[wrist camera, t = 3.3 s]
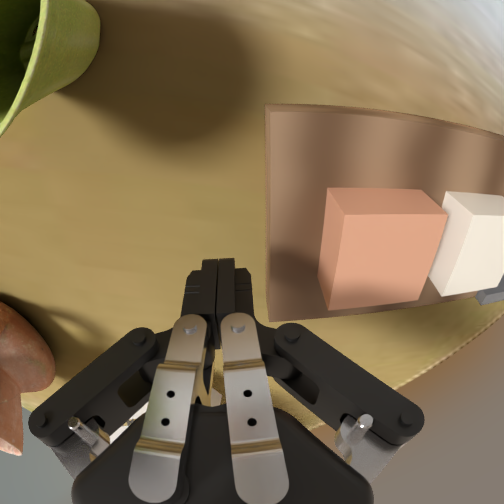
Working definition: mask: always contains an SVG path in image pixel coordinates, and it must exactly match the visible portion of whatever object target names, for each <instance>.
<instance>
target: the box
mask: <svg viewBox="0 0 504 504" xmlns="http://www.w3.org/2000/svg"><path fill="white" fill-rule="evenodd" d="M475 297H476V299H477V300H478V302H479V303H480V305H484V304H489V303H493V302H497V301H501V300H504V274H503V276H502V278H501V280H500V282H499V284H498V286H497V287H494V288H488V289H483V290H478V292H477V294H476V296H475Z"/></svg>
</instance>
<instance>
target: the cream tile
mask: <svg viewBox="0 0 504 504" xmlns="http://www.w3.org/2000/svg"><path fill="white" fill-rule="evenodd" d="M442 209H443V210H444V211H445V212H446V213H447V214H448V217H447V221H446V224H445V227H444V231H443V234H442V237H441V240H440V243H439V246H438V249H437V252H436V255H435V257H434V260H433V263H432V266H431V268H430V271H429V274H428V277H429V278H430V280H431V281H432V283H433V284H434V286H435V287H436V289H437V290H438V292H439V293H440V295H441V296H449V295H455V294H461V293H467V292H472V291H478V290H483V289H488V288H494V287H497V286H498V284H499V282H500V280H501V278H502V276H503V274H504V197H503V196H499V195H489V194H477V193H465V192H451V191H446V193H445V197H444V200H443V204H442Z"/></svg>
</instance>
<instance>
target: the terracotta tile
mask: <svg viewBox="0 0 504 504" xmlns="http://www.w3.org/2000/svg"><path fill="white" fill-rule="evenodd" d="M447 217H448V214H447V213H446V212H445V211H444V210H443V209H442V208H441V207H440V206H439V205H438V204H437V203H435V202H434V201H433V200H432V199H431V198H430V197H429V196H428V195H427V194H426V193H424V192H423V191H422V190H416V189H389V188H327V197H326V207H325V217H324V226H323V235H322V244H321V252H320V259H319V267H318V274H317V277H318V280H319V283H320V286H321V289H322V293H323V296H324V299H325V302H326V305H327V309H328V310H339V309H349V308H359V307H368V306H376V305H385V304H393V303H401V302H408V301H415V300H418V299H419V296H420V294H421V291H422V289H423V286H424V284H425V281H426V279H427V276H428V274H429V271H430V268H431V266H432V263H433V260H434V257H435V255H436V252H437V249H438V246H439V243H440V240H441V237H442V234H443V231H444V227H445V224H446V221H447Z"/></svg>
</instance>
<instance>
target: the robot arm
mask: <svg viewBox="0 0 504 504" xmlns="http://www.w3.org/2000/svg"><path fill="white" fill-rule="evenodd" d="M221 346H222V351H223V362H224V365H223V372H224V383H225V394H226V404H222V405H218V406H214V407H211V391H212V383H213V374H214V366H215V362H214V358H215V349H221ZM267 376H271V377H273V378H274V380H275V381H276V382H277V383H278V384H279V385H280V386H282V387H283V388H284V389H285V390H286V391H287V392H289V393H290V394H291V395H292V396H293V397H294V398H296V399H297V400H298V401H299V402H300V403H302V404H303V405H304V406H305V407H307V408H308V409H309V410H310V411H311V412H313V413H314V414H315V415H316V416H318V417H319V418H320V419H321V420H323V421H324V422H325V423H326V424H328V425H329V426H330V427H332V428H333V429H334V430H335V431H337V432H336V434H335V439H334V441H335V445H336V447H337V448H338V449H339V451H340V452H341V453H342V454H343V456H344V458H345V461H344V460H343V459H342V458H340V457H339V456H338V455H337V454H335V453H334V452H333V451H332V450H331V449H330V448H328V447H327V446H326V445H325V444H324V443H323V442H321V441H320V440H319V439H318V438H317V437H315V436H314V435H313V434H312V433H311V432H310V431H309V430H308V429H307V428H305V427H304V426H303V425H302V424H301V423H300V422H299V421H298V420H297V419H295V418H294V417H293V416H292V415H290V414H289V413H287V412H285V411H283V410H281V409H278V408H276V407H273V405H272V400H271V395H270V390H269V384H268V379H267ZM148 401H149V402H148ZM147 402H148V406H147V410H146V412H145V413H143V414H142V415H140V416H139V417H138V418H137V419H136V420H135V421H134V422H133V423H132V424H131V425H130V426H129V427H127V428H126V429H125V430H124V431H123V432H122V433H121V434H120V435H119V436H118V437H117V438H116V439H115V440H114V441H113V442H112V443H111V444H110V436H111V435H112V434H113V433H114V432H115V431H117V430H118V429H119V428H120V427H121V426H122V425H123V424H124V423H125V422H127V421H128V420H129V419H130V418H131V417H132V416H133V415H134V414H135V413H136V412H138V411H139V410H140V409H141V408H142V407H143V406H144V405H145V404H146V403H147ZM28 425H29V429H30V431H31V433H32V434H33V435H34V436H36V437H37V438H39V439H40V440H41V441H42V442H43V443H44V444H46V445H47V446H48V447H50V448H51V449H52V450H53V452H54V453H55V455H56V456H57V457H58V459H59V460H60V462H61V463H62V464H63V466H64V467H65V468H66V470H67V471H68V472H69V474H70V475H71V476H72V477H73V479H74V483H73V486H72V491H71V494H72V502H73V504H373V503H374V495H373V491H372V488H371V486H370V483H371V482H372V481H373V480H374V479H375V478H376V477H377V475H378V474H379V473H380V472H381V471H382V469H383V468H384V467H385V465H386V464H387V463H388V462H389V461H390V459H391V458H392V457H393V456H394V454H395V453H396V452H397V451H398V450H399V449H400V448H401V447H402V446H404V445H405V444H406V443H407V442H408V441H409V440H411V439H412V438H413V437H414V436H415V435H416V434H417V433H419V432H420V430H421V429H422V427H423V425H424V414H423V412H422V410H421V409H420V408H419V407H418V406H417V405H416V404H414V403H413V402H411V401H410V400H408V399H407V398H405V397H404V396H402V395H401V394H399V393H398V392H396V391H395V390H393V389H392V388H390V387H389V386H388V385H386V384H385V383H383V382H382V381H380V380H379V379H377V378H376V377H374V376H373V375H372V374H370V373H369V372H367V371H366V370H364V369H363V368H361V367H360V366H359V365H357V364H356V363H354V362H353V361H351V360H350V359H349V358H347V357H346V356H344V355H343V354H342V353H340V352H339V351H337V350H336V349H334V348H333V347H332V346H330V345H329V344H327V343H326V342H325V341H323V340H322V339H320V338H319V337H318V336H316V335H315V334H313V333H312V332H311V331H309V330H308V329H307V328H305V327H304V326H302V325H300V324H297V323H286V324H283V325H281V326H279V327H278V328H277V329H274V328H269V327H266V326H263V325H262V324H260V323H259V322H258V321H257V320H256V318H255V316H254V308H253V296H252V284H251V274H250V273H249V272H248V270H247V269H246V268H236V269H235V260H234V258H223V259H219V261H218V259H205V260H203V261H202V269H201V270H196V271H192V272H191V273H190V275H189V276H188V277H187V280H186V287H185V294H184V298H183V304H182V311H181V317H180V318H179V319H178V320H177V321H176V322H175V324H174V326H173V328H171V329H169V330H167V331H164V332H160V333H156V334H154V332H153V331H152V330H150V329H148V328H144V327H141V328H136V329H133V330H131V331H130V332H129V333H127V334H126V335H125V336H124V337H122V338H121V339H120V340H119V341H118V342H116V343H115V344H114V345H113V346H111V347H110V348H109V349H108V350H106V351H105V352H104V353H103V354H101V355H100V356H99V357H98V358H97V359H95V360H94V361H93V362H92V363H90V364H89V365H88V366H87V367H86V368H84V369H83V370H82V371H81V372H79V373H78V374H77V375H76V376H75V377H73V378H72V379H71V380H70V381H69V382H67V383H66V384H65V385H64V386H62V387H61V388H60V389H59V390H58V391H56V392H55V393H54V394H53V395H52V396H50V397H49V398H48V399H47V400H46V401H44V402H43V403H42V404H41V405H40V406H38V407H37V408H36V409H35V410H34V411H33V412H32V413H31V415H30V417H29V421H28Z"/></svg>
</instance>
